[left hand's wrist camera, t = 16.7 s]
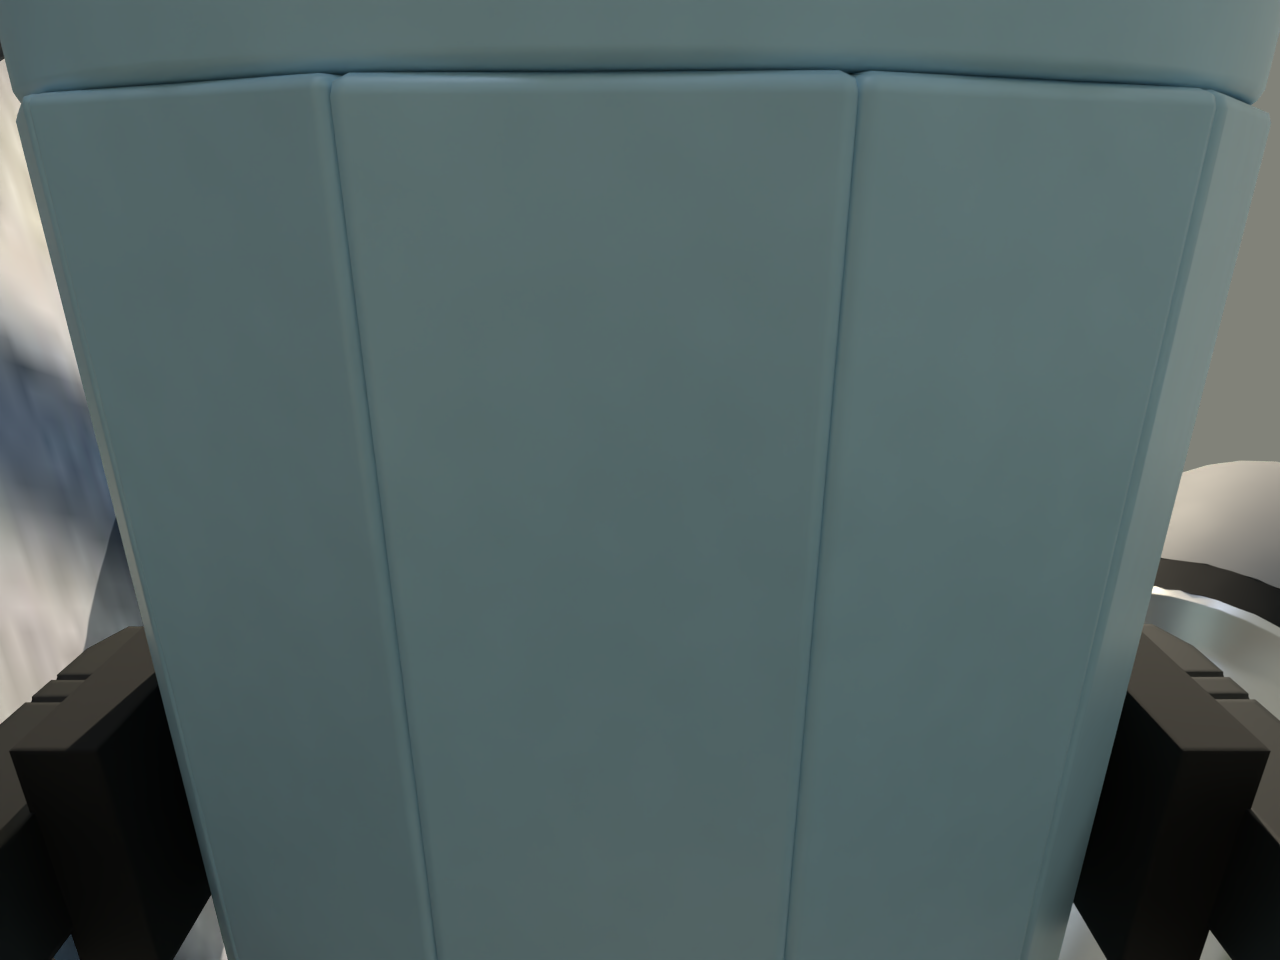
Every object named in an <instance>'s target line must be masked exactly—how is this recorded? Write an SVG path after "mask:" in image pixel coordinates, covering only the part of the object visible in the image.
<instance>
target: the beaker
mask: <svg viewBox="0 0 1280 960" xmlns="http://www.w3.org/2000/svg"><path fill="white" fill-rule="evenodd" d="M1279 32H1280V0H0V42H1V46H2V50H3V54H4V58H5V62H6V66H7V70H8V74H9V78H10V82H11V86H12V90H13V93H14V94H15V95H16V97H17V98H18V100H19V101H20V103H21V106H20V109H19V112H18V115H17V119H16V123H17V127H18V131H19V135H20V139H21V143H22V147H23V151H24V155H25V159H26V163H27V167H28V171H29V175H30V179H31V183H32V187H33V191H34V194H35V198H36V202H37V206H38V210H39V214H40V218H41V222H42V226H43V230H44V234H45V238H46V242H47V246H48V250H49V254H50V258H51V262H52V266H53V270H54V274H55V278H56V282H57V285H58V289H59V293H60V297H61V301H62V305H63V309H64V313H65V317H66V321H67V325H68V329H69V333H70V337H71V341H72V345H73V349H74V353H75V357H76V361H77V365H78V369H79V373H80V376H81V380H82V384H83V388H84V392H85V396H86V400H87V404H88V408H89V412H90V416H91V420H92V424H93V428H94V432H95V436H96V440H97V444H98V448H99V452H100V456H101V460H102V464H103V467H104V471H105V475H106V479H107V483H108V487H109V491H110V495H111V499H112V503H113V507H114V511H115V515H116V519H117V523H118V527H119V531H120V535H121V539H122V543H123V547H124V551H125V555H126V558H127V562H128V566H129V570H130V574H131V578H132V582H133V586H134V590H135V594H136V598H137V602H138V606H139V610H140V614H141V618H142V622H143V626H144V630H145V634H146V638H147V642H148V646H149V649H150V653H151V657H152V661H153V665H154V669H155V673H156V677H157V681H158V685H159V689H160V693H161V697H162V701H163V705H164V709H165V713H166V717H167V721H168V725H169V729H170V733H171V737H172V740H173V744H174V748H175V752H176V756H177V760H178V764H179V768H180V772H181V776H182V780H183V784H184V788H185V792H186V796H187V800H188V804H189V808H190V812H191V816H192V820H193V824H194V828H195V831H196V835H197V839H198V843H199V847H200V851H201V855H202V859H203V863H204V867H205V871H206V875H207V879H208V883H209V887H210V891H211V895H212V899H213V903H214V907H215V911H216V915H217V919H218V922H219V926H220V930H221V934H222V938H223V942H224V946H225V950H226V954H227V958H228V960H1058V959H1059V956H1060V952H1061V948H1062V944H1063V940H1064V936H1065V932H1066V928H1067V924H1068V920H1069V916H1070V912H1071V908H1072V904H1073V900H1074V897H1075V893H1076V889H1077V885H1078V881H1079V877H1080V873H1081V869H1082V865H1083V861H1084V857H1085V853H1086V849H1087V845H1088V842H1089V838H1090V834H1091V830H1092V826H1093V822H1094V818H1095V814H1096V810H1097V806H1098V802H1099V798H1100V794H1101V790H1102V786H1103V783H1104V779H1105V775H1106V771H1107V767H1108V763H1109V759H1110V755H1111V751H1112V747H1113V743H1114V739H1115V735H1116V731H1117V727H1118V724H1119V720H1120V716H1121V712H1122V708H1123V704H1124V700H1125V696H1126V692H1127V688H1128V684H1129V680H1130V676H1131V672H1132V668H1133V665H1134V661H1135V657H1136V653H1137V649H1138V645H1139V641H1140V637H1141V633H1142V629H1143V625H1144V621H1145V617H1146V613H1147V609H1148V606H1149V602H1150V598H1151V594H1152V590H1153V586H1154V582H1155V578H1156V574H1157V570H1158V566H1159V562H1160V558H1161V554H1162V550H1163V547H1164V543H1165V539H1166V535H1167V531H1168V527H1169V523H1170V519H1171V515H1172V511H1173V507H1174V503H1175V499H1176V495H1177V492H1178V488H1179V484H1180V480H1181V476H1182V472H1183V468H1184V464H1185V460H1186V456H1187V452H1188V448H1189V444H1190V440H1191V436H1192V432H1193V429H1194V425H1195V421H1196V417H1197V413H1198V409H1199V405H1200V401H1201V397H1202V393H1203V389H1204V385H1205V381H1206V377H1207V374H1208V370H1209V366H1210V362H1211V358H1212V354H1213V350H1214V346H1215V342H1216V338H1217V334H1218V330H1219V326H1220V322H1221V318H1222V315H1223V311H1224V307H1225V303H1226V299H1227V295H1228V291H1229V287H1230V283H1231V279H1232V275H1233V271H1234V267H1235V263H1236V259H1237V256H1238V252H1239V248H1240V244H1241V240H1242V236H1243V232H1244V228H1245V224H1246V220H1247V216H1248V212H1249V208H1250V204H1251V200H1252V197H1253V193H1254V189H1255V185H1256V181H1257V177H1258V173H1259V169H1260V165H1261V161H1262V157H1263V153H1264V149H1265V145H1266V141H1267V137H1268V133H1269V130H1270V126H1271V120H1270V116H1269V113H1268V112H1265V111H1263V110H1261V109H1258V108H1256V107H1254V106H1251V105H1252V104H1253V103H1255V102H1256V101H1257V100H1258V99H1259V98H1260V96H1261V95H1262V93H1263V92H1264V90H1265V88H1266V84H1267V80H1268V76H1269V72H1270V68H1271V64H1272V60H1273V56H1274V52H1275V48H1276V44H1277V40H1278V36H1279Z"/></svg>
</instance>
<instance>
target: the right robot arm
mask: <svg viewBox="0 0 1280 960" xmlns="http://www.w3.org/2000/svg"><path fill="white" fill-rule="evenodd" d="M1144 624H1153V625H1155V626H1157V627H1159V628H1161V629H1163V630H1164V631H1166V632H1168V633H1170V634H1172V635H1174V636H1176V637H1178V638H1180V639H1181V640H1183V641H1185V642H1187V643H1189V644H1191V645H1193V646H1194V647H1195V648H1196V649H1198V650H1199V651H1200V652H1201V653H1202V654H1203V655H1205V656H1206V657H1207V658H1208V659H1209V660H1210V661H1212V662H1213V663H1214V664H1215V665H1216V666H1217V667H1218V668H1220V669H1221V670H1222V671H1223V675H1224V677H1230V678H1231V679H1232V680H1233V681H1235V682H1236V683H1237V684H1238V685H1239V686H1240V687H1242V688H1243V689H1244V690H1245V691H1246V692H1247V693H1249V699H1255V700H1257V701H1258V702H1259V703H1260V704H1261V705H1262V706H1264V707H1265V708H1266V709H1267V710H1268V711H1269V712H1270V713H1272V714H1273V715H1274V716H1275V717H1276V718H1277V719H1279V720H1280V462H1269V461H1235V462H1227V463H1220V464H1212V465H1207V466H1203V467H1200V468H1196V469H1193V470H1190V471H1186V472H1183V473H1182V476H1181V480H1180V484H1179V488H1178V492H1177V495H1176V499H1175V503H1174V507H1173V511H1172V515H1171V519H1170V523H1169V527H1168V531H1167V535H1166V539H1165V543H1164V547H1163V550H1162V554H1161V558H1160V562H1159V566H1158V570H1157V574H1156V578H1155V582H1154V586H1153V590H1152V594H1151V598H1150V602H1149V606H1148V609H1147V613H1146V617H1145V621H1144ZM52 960H55V959H54V958H52ZM1058 960H1107V959H1106V957H1105V956H1104V954H1103V952H1102V951H1101V949H1100V947H1099V945H1098V944H1097V942H1096V940H1095V939H1094V937H1093V935H1092V934H1091V932H1090V930H1089V928H1088V927H1087V925H1086V923H1085V922H1084V920H1083V918H1082V917H1081V915H1080V913H1079V911H1078V910H1077V908H1076V906H1075V905H1074V903H1073V904H1072V908H1071V912H1070V916H1069V920H1068V924H1067V928H1066V932H1065V936H1064V940H1063V944H1062V948H1061V952H1060V956H1059V959H1058ZM1200 960H1232V959H1231V958H1230V957H1229V955H1228V954H1227V953H1226V951H1225V950H1224V949H1223V947H1222V946H1221V945H1220V943H1219V942H1218V940H1217V939H1216V938H1215V936H1214V935H1213V934H1212V932H1211V931H1209V934H1208V937H1207V939H1206V942H1205V945H1204V948H1203V951H1202V954H1201V957H1200Z"/></svg>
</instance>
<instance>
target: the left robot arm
mask: <svg viewBox="0 0 1280 960" xmlns="http://www.w3.org/2000/svg"><path fill="white" fill-rule="evenodd" d="M210 896H211V891H210V887H209V883H208V879H207V875H206V871H205V867H204V863H203V859H202V855H201V851H200V847H199V843H198V839H197V835H196V831H195V828H194V824H193V820H192V816H191V812H190V808H189V804H188V800H187V796H186V792H185V788H184V784H183V780H182V776H181V772H180V768H179V764H178V760H177V756H176V752H175V748H174V744H173V740H172V737H171V733H170V729H169V725H168V721H167V717H166V713H165V709H164V705H163V701H162V697H161V693H160V689H159V685H158V681H157V677H156V673H155V669H154V665H153V661H152V657H151V653H150V649H149V646H148V642H147V638H146V634H145V630H144V626H143V627H127V628H125V629H123V630H121V631H119V632H118V633H116V634H114V635H112V636H110V637H108V638H106V639H104V640H103V641H101V642H99V643H97V644H95V645H93V646H91V647H90V648H88V649H86V650H85V651H84V652H83V653H82V654H81V655H79V656H78V657H77V658H76V659H75V660H74V661H73V662H71V663H70V664H69V665H68V666H67V667H66V668H64V669H63V670H62V671H61V672H60V673H59V674H58V675H57V680H51V681H50V682H48V683H47V684H46V685H45V686H44V687H43V688H42V689H40V690H39V691H38V692H37V693H36V694H35V695H34V696H32V701H31V703H24V704H23V705H22V706H21V707H20V708H19V709H17V710H16V711H15V712H14V713H13V714H12V715H11V716H9V717H8V718H7V719H6V720H5V721H4V722H3V723H1V724H0V960H52V958H53V957H54V956H55V954H56V953H57V952H58V950H59V949H60V947H61V946H62V945H63V943H64V942H65V941H66V939H67V938H68V937H69V935H70V934H72V937H73V940H74V943H75V946H76V949H77V952H78V955H79V958H80V960H173V959H174V957H175V955H176V954H177V952H178V950H179V948H180V947H181V945H182V943H183V942H184V940H185V938H186V937H187V935H188V933H189V931H190V930H191V928H192V926H193V925H194V923H195V921H196V920H197V918H198V916H199V914H200V913H201V911H202V909H203V908H204V906H205V904H206V903H207V901H208V899H209V898H210ZM1073 903H1074V905H1075V906H1076V908H1077V910H1078V911H1079V913H1080V915H1081V917H1082V918H1083V920H1084V922H1085V923H1086V925H1087V927H1088V928H1089V930H1090V932H1091V934H1092V935H1093V937H1094V939H1095V940H1096V942H1097V944H1098V945H1099V947H1100V949H1101V951H1102V952H1103V954H1104V956H1105V957H1106V959H1107V960H1200V957H1201V954H1202V951H1203V948H1204V945H1205V942H1206V939H1207V937H1208V934H1209V931H1211V932H1212V934H1213V935H1214V936H1215V938H1216V939H1217V940H1218V942H1219V943H1220V945H1221V946H1222V947H1223V949H1224V950H1225V951H1226V953H1227V954H1228V955H1229V957H1230V958H1231V959H1232V960H1280V720H1279V719H1277V718H1276V717H1275V716H1274V715H1273V714H1272V713H1270V712H1269V711H1268V710H1267V709H1266V708H1265V707H1264V706H1262V705H1261V704H1260V703H1259V702H1258V701H1257V700H1255V699H1249V693H1247V692H1246V691H1245V690H1244V689H1243V688H1242V687H1240V686H1239V685H1238V684H1237V683H1236V682H1235V681H1233V680H1232V679H1231V678H1230V677H1224V675H1223V671H1222V670H1221V669H1220V668H1218V667H1217V666H1216V665H1215V664H1214V663H1213V662H1212V661H1210V660H1209V659H1208V658H1207V657H1206V656H1205V655H1203V654H1202V653H1201V652H1200V651H1199V650H1198V649H1196V648H1195V647H1194V646H1193V645H1191V644H1189V643H1187V642H1185V641H1183V640H1181V639H1180V638H1178V637H1176V636H1174V635H1172V634H1170V633H1168V632H1166V631H1164V630H1163V629H1161V628H1159V627H1157V626H1155V625H1153V624H1144V625H1143V629H1142V633H1141V637H1140V641H1139V645H1138V649H1137V653H1136V657H1135V661H1134V665H1133V668H1132V672H1131V676H1130V680H1129V684H1128V688H1127V692H1126V696H1125V700H1124V704H1123V708H1122V712H1121V716H1120V720H1119V724H1118V727H1117V731H1116V735H1115V739H1114V743H1113V747H1112V751H1111V755H1110V759H1109V763H1108V767H1107V771H1106V775H1105V779H1104V783H1103V786H1102V790H1101V794H1100V798H1099V802H1098V806H1097V810H1096V814H1095V818H1094V822H1093V826H1092V830H1091V834H1090V838H1089V842H1088V845H1087V849H1086V853H1085V857H1084V861H1083V865H1082V869H1081V873H1080V877H1079V881H1078V885H1077V889H1076V893H1075V897H1074V900H1073Z"/></svg>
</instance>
